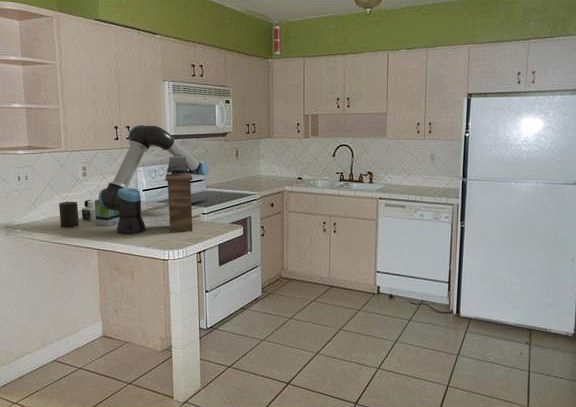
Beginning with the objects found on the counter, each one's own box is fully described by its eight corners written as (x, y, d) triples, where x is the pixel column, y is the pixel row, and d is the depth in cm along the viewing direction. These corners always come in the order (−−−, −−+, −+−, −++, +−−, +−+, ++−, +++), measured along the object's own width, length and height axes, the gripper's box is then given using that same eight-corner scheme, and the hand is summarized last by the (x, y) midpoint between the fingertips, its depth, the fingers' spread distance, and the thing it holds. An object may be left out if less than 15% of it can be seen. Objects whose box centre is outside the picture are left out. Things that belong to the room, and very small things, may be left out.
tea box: (109, 226, 286) (107, 201, 283) (95, 225, 290) (93, 200, 287) (126, 220, 300) (124, 196, 297) (112, 219, 303) (111, 195, 301)
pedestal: (194, 231, 273) (192, 177, 267) (168, 233, 270) (165, 178, 264) (192, 223, 291) (190, 173, 285) (168, 225, 288) (165, 174, 282)
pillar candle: (67, 228, 280) (65, 202, 278) (57, 226, 286) (55, 201, 283) (82, 225, 288) (80, 200, 286) (72, 223, 294) (70, 198, 291)
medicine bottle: (82, 220, 302) (80, 200, 300) (91, 217, 308) (90, 199, 306) (90, 221, 299) (88, 201, 297) (99, 219, 305) (98, 199, 303)
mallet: (186, 169, 275) (186, 157, 274) (169, 170, 273) (169, 157, 272) (185, 165, 299) (184, 153, 298) (170, 165, 297) (169, 153, 296)
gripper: (191, 180, 311) (192, 165, 289) (165, 181, 307) (163, 166, 285) (190, 169, 313) (191, 153, 291) (164, 170, 309) (163, 154, 288)
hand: (177, 159), depth 288 cm, fingers closed on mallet, 3 cm apart
